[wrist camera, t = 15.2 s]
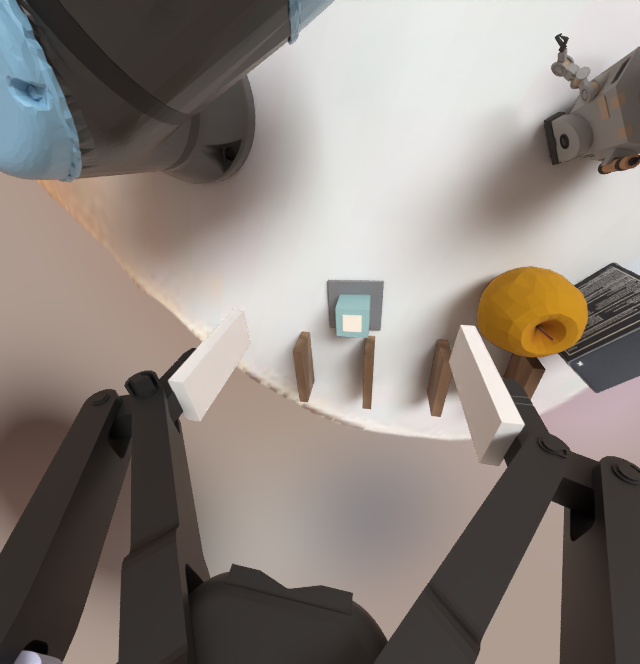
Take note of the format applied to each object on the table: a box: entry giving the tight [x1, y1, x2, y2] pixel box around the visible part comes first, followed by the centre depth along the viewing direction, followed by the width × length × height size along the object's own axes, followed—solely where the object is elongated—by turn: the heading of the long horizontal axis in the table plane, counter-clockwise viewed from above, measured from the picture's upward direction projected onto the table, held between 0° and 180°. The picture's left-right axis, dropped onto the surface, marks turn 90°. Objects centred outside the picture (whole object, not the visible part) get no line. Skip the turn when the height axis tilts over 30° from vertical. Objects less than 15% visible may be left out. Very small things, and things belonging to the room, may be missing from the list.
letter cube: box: [335, 294, 370, 338], centre depth 40 cm, size 4×4×5 cm
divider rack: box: [293, 332, 546, 417], centre depth 44 cm, size 34×11×6 cm, turn 93°
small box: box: [558, 263, 640, 393], centre depth 31 cm, size 11×6×10 cm, turn 140°
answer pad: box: [328, 280, 384, 330], centre depth 42 cm, size 8×8×1 cm
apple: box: [477, 267, 588, 357], centre depth 31 cm, size 10×10×12 cm
